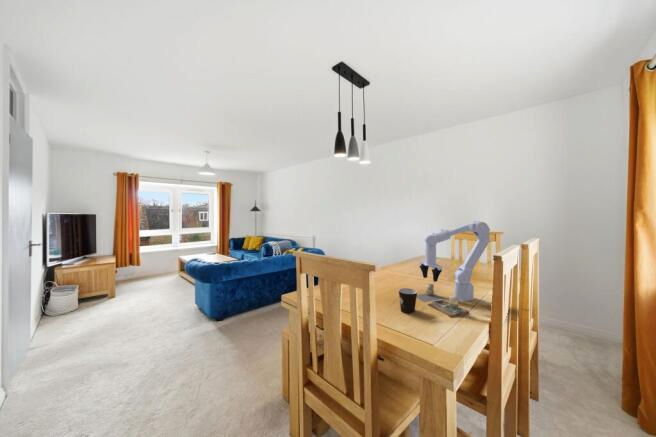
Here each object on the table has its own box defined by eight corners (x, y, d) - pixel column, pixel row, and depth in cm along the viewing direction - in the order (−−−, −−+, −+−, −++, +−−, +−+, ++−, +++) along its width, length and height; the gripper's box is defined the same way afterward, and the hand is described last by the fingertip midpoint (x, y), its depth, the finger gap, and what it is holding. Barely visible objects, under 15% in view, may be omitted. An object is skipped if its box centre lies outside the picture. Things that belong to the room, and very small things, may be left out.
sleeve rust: (429, 293, 142) (430, 283, 142) (435, 295, 138) (435, 285, 138) (424, 294, 141) (424, 284, 140) (429, 296, 137) (429, 286, 137)
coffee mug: (418, 315, 114) (418, 294, 113) (399, 314, 115) (399, 293, 115) (414, 305, 125) (414, 286, 125) (397, 304, 127) (397, 285, 126)
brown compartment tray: (445, 302, 129) (445, 298, 129) (469, 313, 116) (469, 308, 116) (427, 305, 125) (427, 301, 125) (450, 317, 112) (450, 312, 112)
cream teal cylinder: (460, 311, 116) (460, 298, 116) (453, 312, 115) (454, 300, 114) (453, 307, 120) (453, 296, 120) (446, 309, 119) (447, 297, 118)
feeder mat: (431, 293, 144) (431, 292, 144) (444, 299, 134) (444, 298, 134) (412, 296, 139) (412, 295, 139) (425, 302, 129) (425, 301, 129)
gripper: (416, 254, 144) (415, 276, 144) (435, 259, 130) (434, 284, 131) (425, 253, 146) (424, 275, 147) (445, 258, 133) (444, 282, 133)
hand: (430, 279), depth 139 cm, fingers open, 7 cm apart
